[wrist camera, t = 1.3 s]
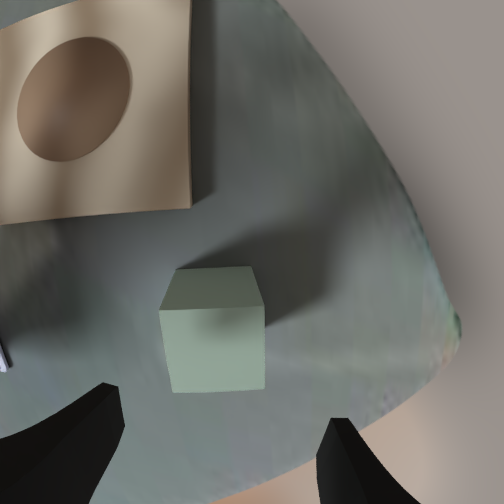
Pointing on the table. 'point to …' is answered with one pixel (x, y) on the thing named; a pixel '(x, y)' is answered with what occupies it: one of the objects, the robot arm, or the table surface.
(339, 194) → the table surface
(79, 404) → the robot arm
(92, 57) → the display base
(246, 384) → the green block
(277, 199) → the table surface
